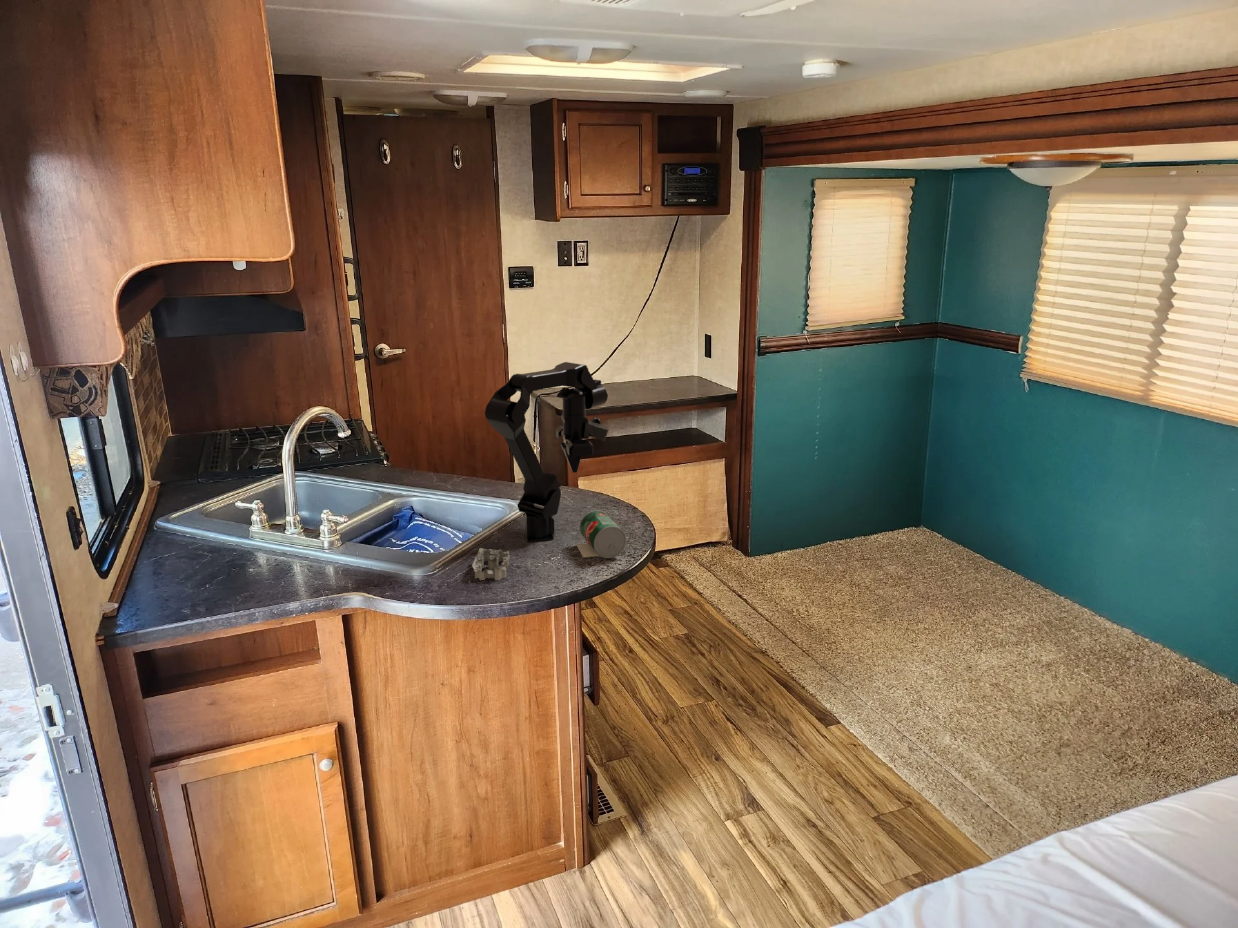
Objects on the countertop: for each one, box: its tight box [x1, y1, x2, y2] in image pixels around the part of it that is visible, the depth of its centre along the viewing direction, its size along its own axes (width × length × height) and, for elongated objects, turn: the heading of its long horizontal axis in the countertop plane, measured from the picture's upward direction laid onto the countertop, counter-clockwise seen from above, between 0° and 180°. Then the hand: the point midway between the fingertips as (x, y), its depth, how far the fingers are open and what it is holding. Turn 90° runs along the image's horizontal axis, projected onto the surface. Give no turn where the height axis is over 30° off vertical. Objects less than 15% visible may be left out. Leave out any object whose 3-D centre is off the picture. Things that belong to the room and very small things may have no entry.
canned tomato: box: [579, 509, 627, 559], centre depth 197 cm, size 8×8×11 cm
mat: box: [576, 542, 600, 558], centre depth 198 cm, size 8×7×1 cm
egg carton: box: [472, 547, 511, 581], centre depth 186 cm, size 11×8×4 cm
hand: (574, 472), depth 213 cm, fingers closed
